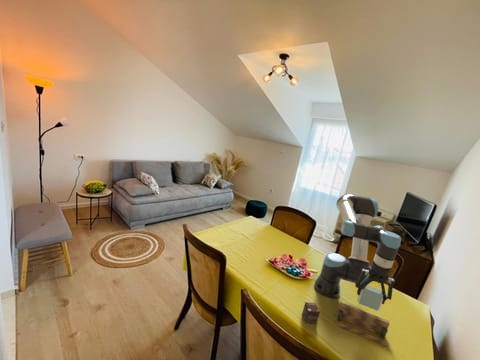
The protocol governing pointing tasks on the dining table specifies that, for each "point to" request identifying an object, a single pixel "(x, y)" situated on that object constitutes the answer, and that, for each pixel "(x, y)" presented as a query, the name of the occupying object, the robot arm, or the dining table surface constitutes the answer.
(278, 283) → the dining table surface
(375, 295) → the pale grey block
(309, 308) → the box
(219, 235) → the dining table surface
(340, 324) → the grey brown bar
